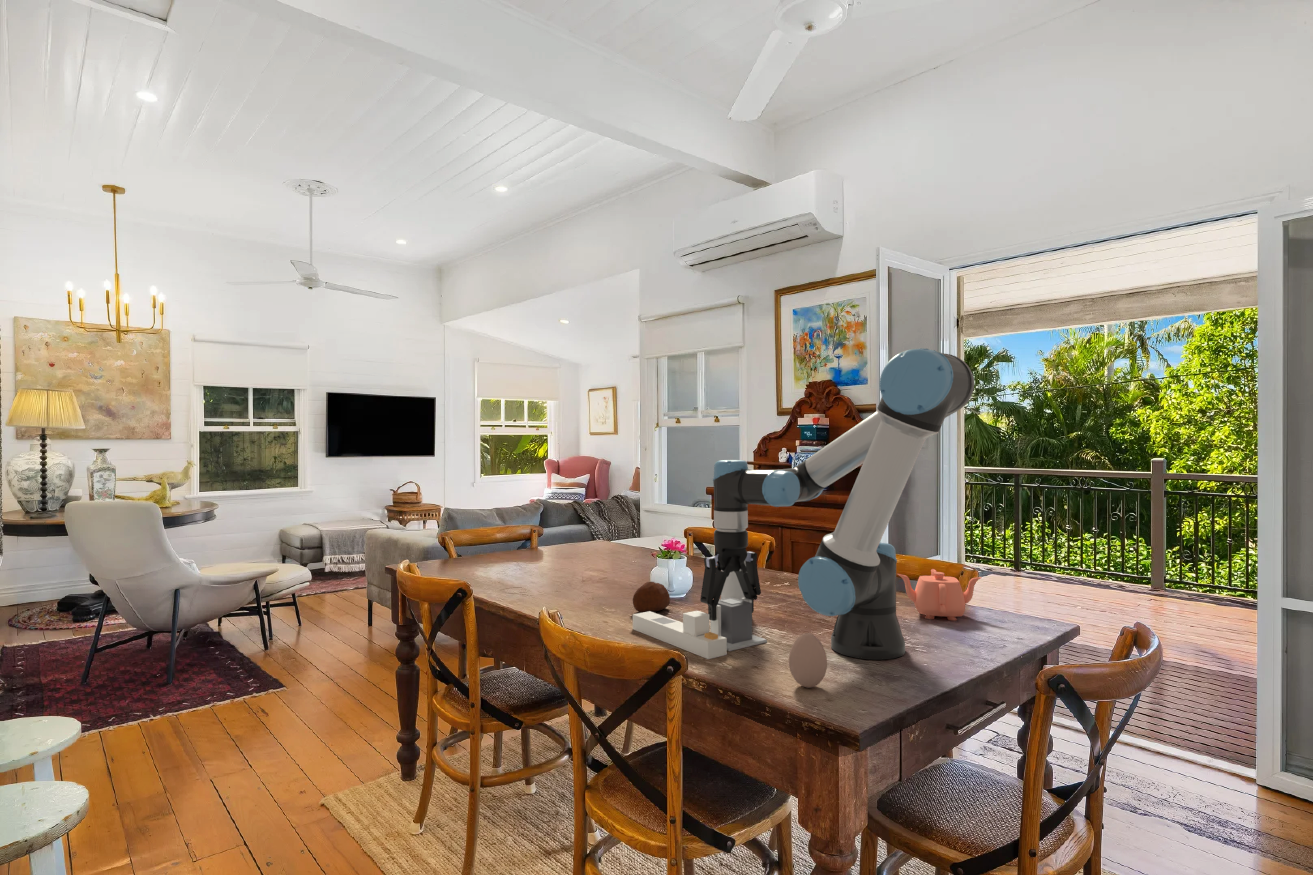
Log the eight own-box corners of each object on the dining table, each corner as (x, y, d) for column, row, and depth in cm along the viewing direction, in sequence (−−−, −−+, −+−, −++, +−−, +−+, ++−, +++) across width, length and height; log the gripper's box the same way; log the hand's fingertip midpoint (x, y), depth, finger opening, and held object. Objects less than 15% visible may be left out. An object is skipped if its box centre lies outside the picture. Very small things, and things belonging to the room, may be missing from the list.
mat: (766, 642, 157) (766, 639, 157) (729, 651, 150) (729, 648, 150) (733, 631, 166) (733, 628, 166) (696, 639, 159) (696, 636, 159)
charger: (752, 639, 157) (752, 602, 157) (731, 643, 153) (731, 606, 153) (731, 632, 163) (731, 596, 163) (711, 636, 159) (710, 600, 159)
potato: (678, 610, 186) (678, 579, 186) (648, 618, 178) (647, 586, 178) (657, 605, 192) (656, 575, 192) (626, 613, 183) (626, 582, 183)
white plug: (709, 632, 152) (709, 614, 152) (694, 636, 149) (694, 617, 149) (697, 628, 155) (697, 610, 155) (683, 631, 153) (683, 613, 153)
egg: (809, 696, 124) (809, 640, 124) (781, 685, 130) (780, 632, 130) (835, 688, 128) (834, 634, 128) (806, 677, 134) (806, 626, 134)
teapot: (896, 614, 181) (896, 571, 181) (932, 606, 188) (932, 565, 188) (946, 626, 168) (946, 580, 168) (983, 618, 176) (982, 574, 176)
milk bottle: (751, 622, 173) (750, 540, 173) (719, 621, 175) (718, 540, 174) (753, 614, 181) (752, 536, 180) (722, 613, 182) (722, 535, 182)
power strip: (726, 654, 148) (726, 634, 148) (708, 659, 145) (708, 638, 145) (650, 625, 171) (649, 607, 171) (632, 629, 168) (632, 610, 168)
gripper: (754, 524, 167) (754, 620, 167) (682, 531, 155) (683, 635, 155) (777, 527, 161) (777, 627, 161) (704, 535, 149) (705, 643, 149)
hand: (731, 630), depth 158 cm, fingers open, 8 cm apart
